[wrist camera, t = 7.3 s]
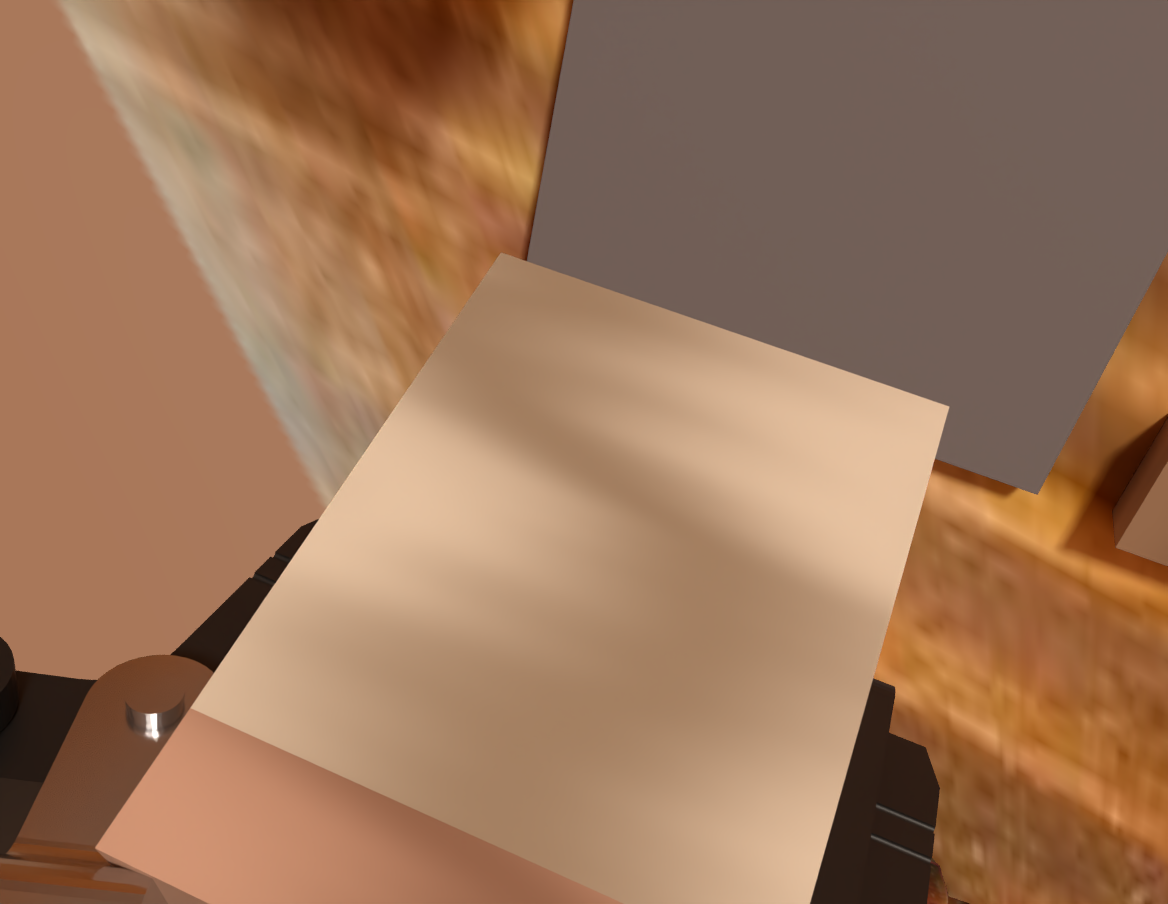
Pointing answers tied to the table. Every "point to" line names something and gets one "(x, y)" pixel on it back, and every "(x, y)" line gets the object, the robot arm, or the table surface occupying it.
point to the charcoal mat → (877, 190)
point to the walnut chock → (1146, 506)
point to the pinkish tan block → (558, 629)
